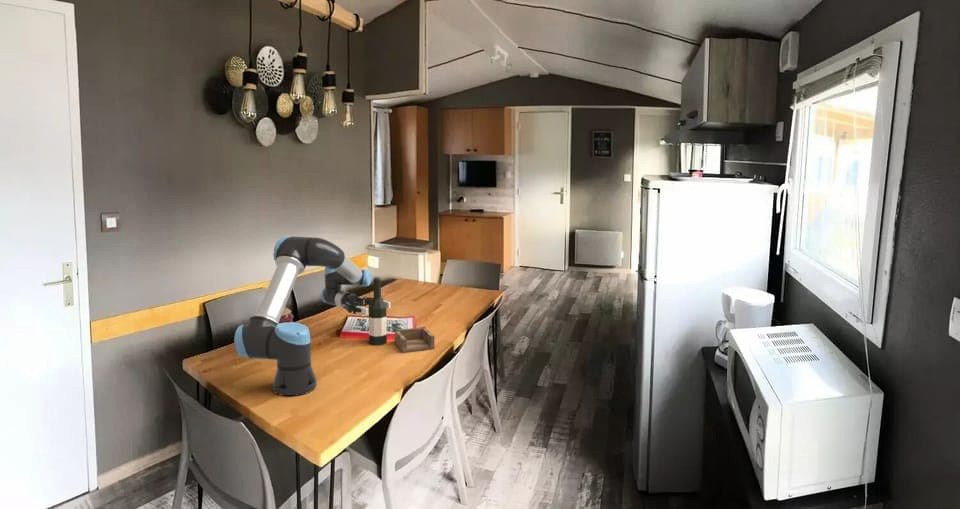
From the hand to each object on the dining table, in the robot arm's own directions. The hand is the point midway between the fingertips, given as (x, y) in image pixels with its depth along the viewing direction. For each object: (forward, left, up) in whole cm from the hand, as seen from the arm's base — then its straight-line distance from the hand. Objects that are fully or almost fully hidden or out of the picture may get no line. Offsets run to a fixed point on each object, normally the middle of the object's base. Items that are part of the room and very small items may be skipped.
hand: (378, 308), depth 248 cm
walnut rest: (-10, -13, -16) cm, 23 cm away
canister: (+15, +42, -16) cm, 47 cm away
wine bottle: (0, +1, -16) cm, 16 cm away
